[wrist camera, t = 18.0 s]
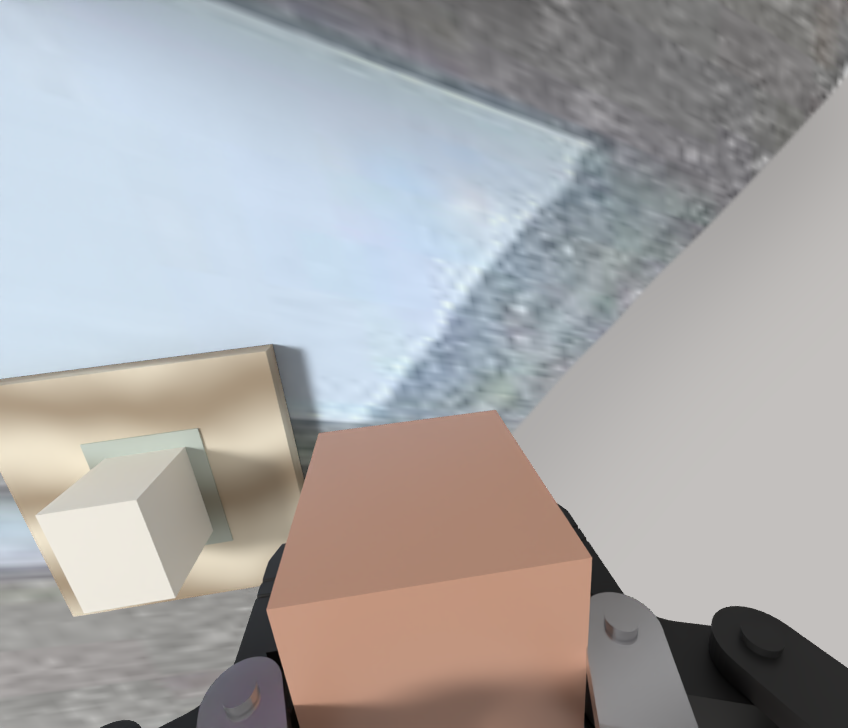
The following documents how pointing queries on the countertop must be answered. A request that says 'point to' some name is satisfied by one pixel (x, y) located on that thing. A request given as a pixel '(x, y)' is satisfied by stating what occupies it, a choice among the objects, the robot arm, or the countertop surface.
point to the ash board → (159, 430)
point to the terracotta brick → (431, 584)
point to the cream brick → (129, 529)
